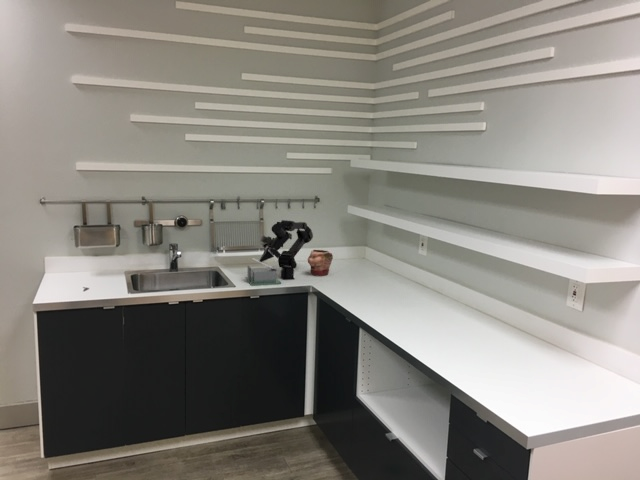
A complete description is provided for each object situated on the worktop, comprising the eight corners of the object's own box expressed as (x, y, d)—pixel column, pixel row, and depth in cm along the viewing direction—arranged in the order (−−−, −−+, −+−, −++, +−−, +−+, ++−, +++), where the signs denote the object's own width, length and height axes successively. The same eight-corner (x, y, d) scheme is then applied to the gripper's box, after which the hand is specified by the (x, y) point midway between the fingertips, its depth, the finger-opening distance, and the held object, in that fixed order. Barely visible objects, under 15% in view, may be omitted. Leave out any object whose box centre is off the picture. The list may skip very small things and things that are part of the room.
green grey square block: (273, 277, 292) (273, 262, 290) (281, 284, 277) (281, 268, 276) (245, 278, 286) (245, 263, 285) (251, 285, 272) (251, 270, 270)
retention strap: (273, 268, 285) (273, 267, 285) (275, 270, 281) (275, 269, 281) (252, 258, 280) (252, 257, 280) (253, 260, 276) (254, 259, 276)
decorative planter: (322, 269, 315) (323, 247, 313) (338, 272, 308) (339, 249, 306) (302, 275, 299) (302, 251, 297) (319, 278, 292) (319, 254, 290)
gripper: (265, 227, 287) (245, 248, 285) (274, 233, 270) (253, 254, 268) (279, 241, 291) (259, 261, 289) (288, 247, 274) (268, 268, 272)
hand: (260, 261), depth 279 cm, fingers closed, pressing on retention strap
